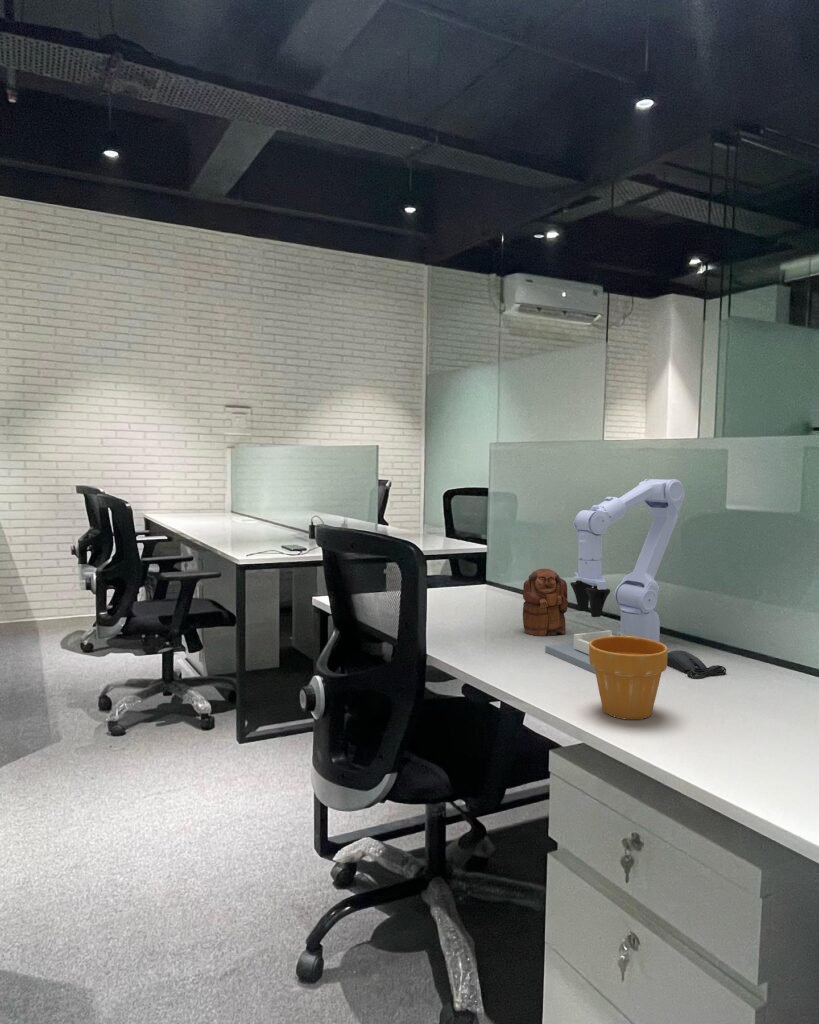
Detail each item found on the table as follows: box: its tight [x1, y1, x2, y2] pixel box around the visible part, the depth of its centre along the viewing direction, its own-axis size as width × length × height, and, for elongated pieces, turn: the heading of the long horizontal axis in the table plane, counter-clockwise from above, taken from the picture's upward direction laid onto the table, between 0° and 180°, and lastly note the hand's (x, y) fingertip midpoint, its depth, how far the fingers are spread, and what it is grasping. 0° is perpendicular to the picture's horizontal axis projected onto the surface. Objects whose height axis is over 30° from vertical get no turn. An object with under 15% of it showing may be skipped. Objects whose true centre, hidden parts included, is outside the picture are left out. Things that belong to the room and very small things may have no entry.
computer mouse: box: [667, 649, 727, 680], centre depth 164 cm, size 10×15×4 cm
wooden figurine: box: [522, 568, 569, 637], centre depth 197 cm, size 12×6×18 cm, turn 100°
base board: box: [544, 641, 596, 675], centre depth 171 cm, size 16×24×4 cm, turn 23°
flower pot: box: [589, 635, 669, 720], centre depth 135 cm, size 14×14×13 cm
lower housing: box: [573, 629, 614, 654], centre depth 172 cm, size 11×10×4 cm
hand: (589, 613), depth 177 cm, fingers open, 7 cm apart
